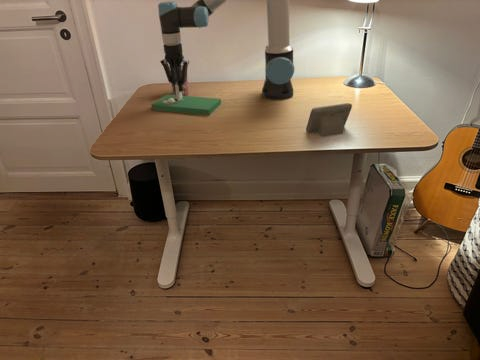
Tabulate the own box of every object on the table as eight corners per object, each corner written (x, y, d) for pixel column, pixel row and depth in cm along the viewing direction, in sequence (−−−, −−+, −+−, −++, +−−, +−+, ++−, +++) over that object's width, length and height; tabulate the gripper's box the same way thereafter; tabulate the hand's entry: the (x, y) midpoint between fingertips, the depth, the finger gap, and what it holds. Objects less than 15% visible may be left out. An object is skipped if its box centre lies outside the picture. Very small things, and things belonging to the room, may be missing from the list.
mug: (189, 97, 169) (186, 69, 162) (170, 98, 169) (166, 70, 162) (191, 89, 180) (188, 62, 173) (174, 89, 180) (170, 63, 173)
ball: (169, 96, 161) (170, 104, 163) (165, 99, 158) (166, 106, 160) (176, 97, 160) (177, 104, 162) (172, 99, 157) (173, 107, 159)
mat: (221, 104, 160) (221, 98, 159) (209, 115, 149) (208, 109, 148) (167, 99, 169) (166, 94, 167) (152, 109, 158) (151, 104, 156)
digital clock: (344, 125, 136) (348, 99, 130) (352, 135, 128) (356, 107, 122) (303, 128, 135) (305, 101, 129) (308, 138, 128) (310, 110, 122)
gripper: (190, 42, 146) (196, 96, 159) (163, 41, 150) (170, 94, 163) (182, 45, 140) (189, 102, 153) (154, 44, 144) (162, 99, 157)
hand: (179, 98), depth 158 cm, fingers closed
